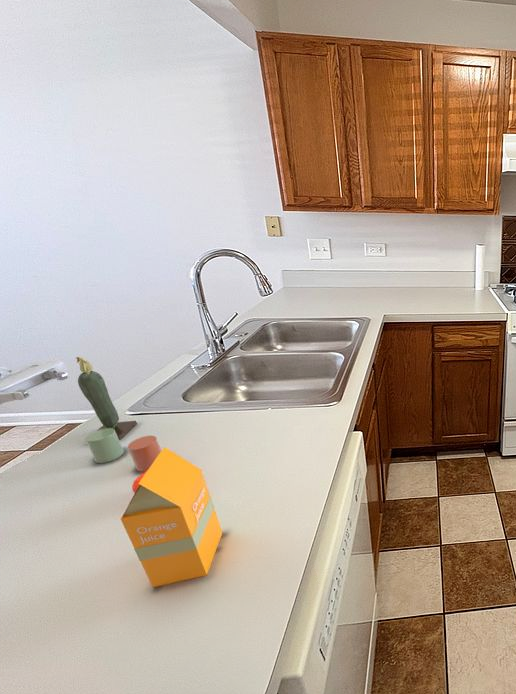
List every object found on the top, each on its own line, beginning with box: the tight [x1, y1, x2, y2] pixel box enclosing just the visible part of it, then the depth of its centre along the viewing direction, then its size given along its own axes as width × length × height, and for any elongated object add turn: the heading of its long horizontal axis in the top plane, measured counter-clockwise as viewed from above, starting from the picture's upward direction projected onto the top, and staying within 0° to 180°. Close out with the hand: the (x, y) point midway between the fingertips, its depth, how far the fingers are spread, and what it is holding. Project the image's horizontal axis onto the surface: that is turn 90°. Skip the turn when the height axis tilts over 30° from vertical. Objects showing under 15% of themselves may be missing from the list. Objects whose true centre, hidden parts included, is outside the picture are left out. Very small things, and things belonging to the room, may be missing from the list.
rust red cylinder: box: [127, 435, 162, 473], centre depth 88 cm, size 5×5×6 cm
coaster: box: [96, 420, 138, 441], centre depth 100 cm, size 7×7×1 cm
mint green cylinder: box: [85, 428, 125, 464], centre depth 90 cm, size 5×5×6 cm
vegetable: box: [75, 356, 120, 428], centre depth 96 cm, size 4×4×20 cm
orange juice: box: [120, 446, 223, 588], centre depth 63 cm, size 8×9×20 cm
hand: (46, 384), depth 94 cm, fingers open, 8 cm apart
